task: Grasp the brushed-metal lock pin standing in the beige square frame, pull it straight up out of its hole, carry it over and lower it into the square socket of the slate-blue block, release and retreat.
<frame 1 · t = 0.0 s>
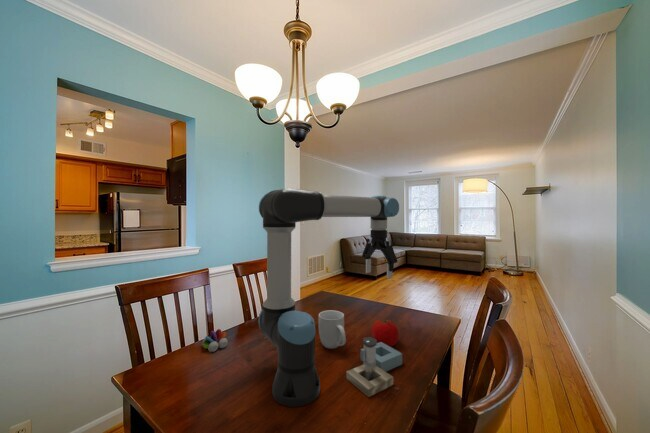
hand: (378, 275, 123), 28 cm above the table, fingers open, 13 cm apart
multicoloured knobbly toy: (215, 348, 112), on the table
mug: (332, 346, 113), on the table
beige square frame: (369, 381, 89), on the table
socket: (381, 361, 101), on the table
tomato: (384, 344, 115), on the table
pin: (369, 360, 89), in the beige square frame
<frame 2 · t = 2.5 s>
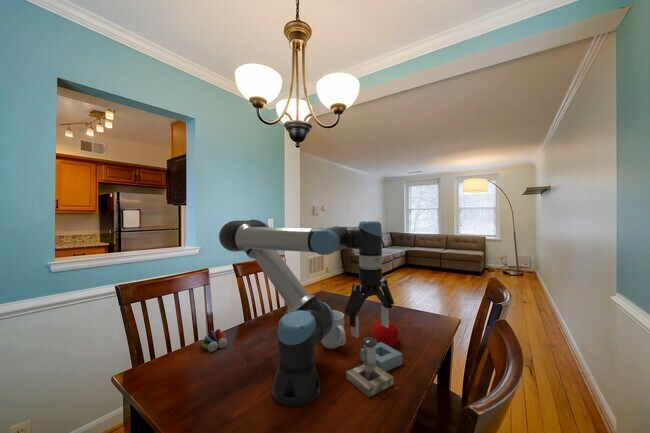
hand: (370, 330, 89), 17 cm above the table, fingers open, 13 cm apart
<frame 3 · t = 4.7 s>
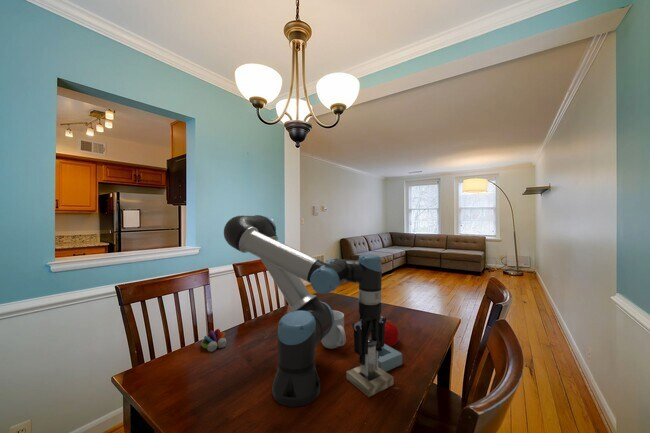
hand: (369, 370, 89), 4 cm above the table, fingers closed on pin, 4 cm apart
pin: (369, 360, 89), in the beige square frame, touching gripper
everything else where it was.
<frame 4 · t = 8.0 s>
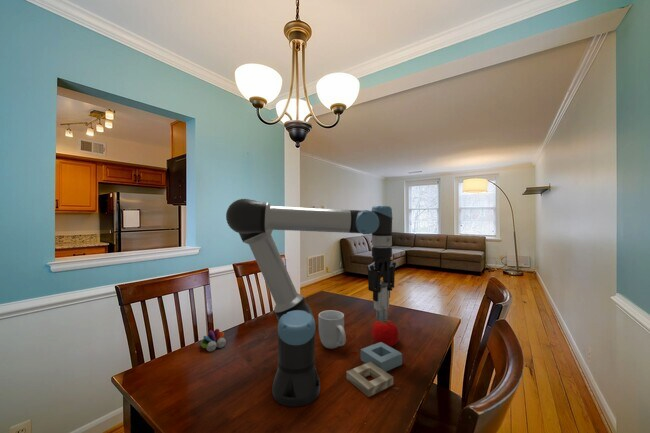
hand: (381, 307, 101), 21 cm above the table, fingers closed on pin, 4 cm apart
pin: (381, 300, 101), point 23 cm above the table, touching gripper
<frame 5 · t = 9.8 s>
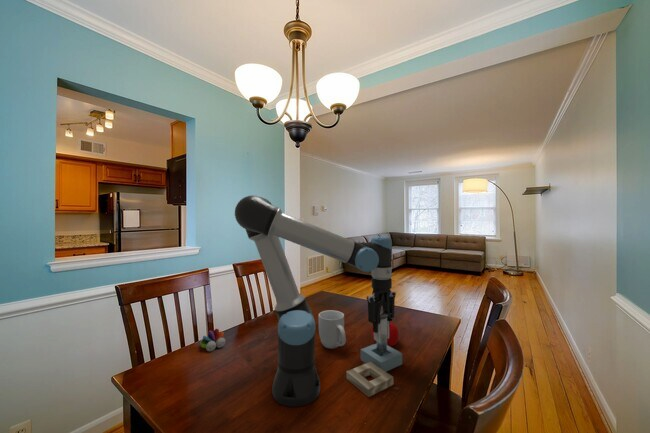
hand: (381, 338, 101), 9 cm above the table, fingers closed on pin, 4 cm apart
pin: (381, 331, 101), point 12 cm above the table, touching gripper
when the fingers open (6 cm above the table, at t = 11.2 s): pin drops 1 cm, resting in socket.
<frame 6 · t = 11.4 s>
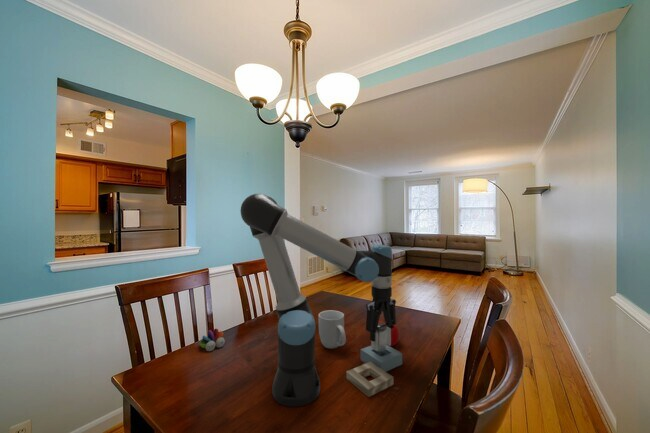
hand: (381, 346, 101), 6 cm above the table, fingers open, 6 cm apart
pin: (380, 343, 101), in the socket
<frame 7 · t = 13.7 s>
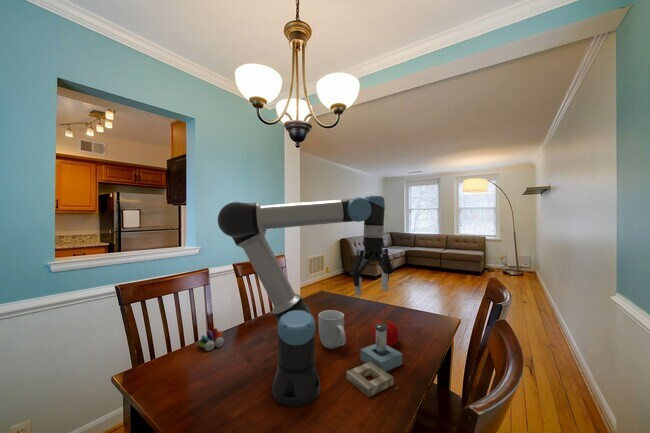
hand: (371, 292, 101), 26 cm above the table, fingers open, 13 cm apart
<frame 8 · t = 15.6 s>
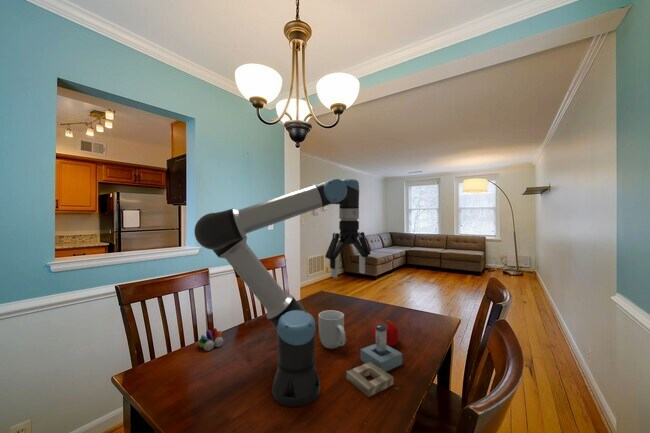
hand: (348, 275, 102), 33 cm above the table, fingers open, 13 cm apart
at the end: pin 0.1 cm off-centre on the socket, point 7.0 cm above the socket's base; pin tilted 0°; the gripper is holding nothing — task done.
